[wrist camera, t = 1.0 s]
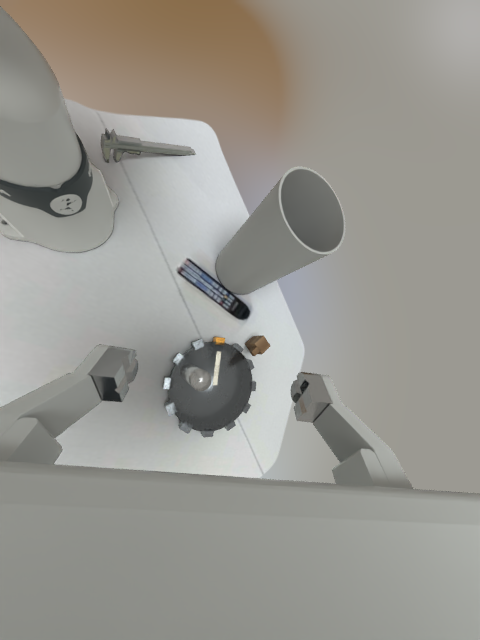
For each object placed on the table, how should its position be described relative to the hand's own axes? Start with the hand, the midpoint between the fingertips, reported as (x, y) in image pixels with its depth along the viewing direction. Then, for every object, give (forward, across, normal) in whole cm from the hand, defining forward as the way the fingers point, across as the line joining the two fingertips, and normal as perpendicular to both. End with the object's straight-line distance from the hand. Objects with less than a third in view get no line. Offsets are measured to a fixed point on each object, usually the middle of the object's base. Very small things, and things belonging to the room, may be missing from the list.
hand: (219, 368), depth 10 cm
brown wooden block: (+29, -9, +25) cm, 39 cm away
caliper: (+50, +20, -7) cm, 55 cm away
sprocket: (+20, 0, +30) cm, 36 cm away
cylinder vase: (+41, -3, +12) cm, 42 cm away
